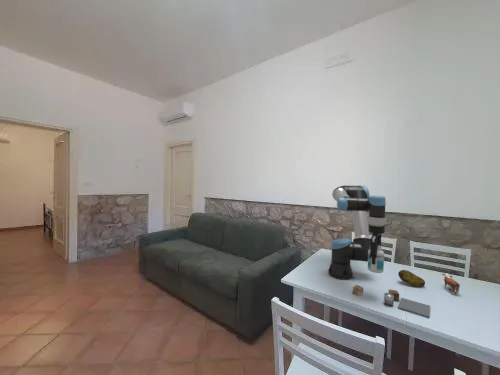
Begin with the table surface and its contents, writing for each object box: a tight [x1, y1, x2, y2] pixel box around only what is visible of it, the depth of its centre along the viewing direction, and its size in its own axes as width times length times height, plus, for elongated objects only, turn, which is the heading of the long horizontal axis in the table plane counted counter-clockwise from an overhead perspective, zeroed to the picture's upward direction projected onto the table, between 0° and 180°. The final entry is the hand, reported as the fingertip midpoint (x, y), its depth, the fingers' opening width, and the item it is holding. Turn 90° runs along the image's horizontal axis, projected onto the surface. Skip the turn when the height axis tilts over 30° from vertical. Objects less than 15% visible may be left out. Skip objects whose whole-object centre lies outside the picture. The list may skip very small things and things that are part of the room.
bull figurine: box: [441, 272, 460, 295], centre depth 132 cm, size 4×13×8 cm, turn 161°
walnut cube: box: [388, 289, 400, 302], centre depth 121 cm, size 4×4×4 cm
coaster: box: [397, 297, 431, 319], centre depth 113 cm, size 12×12×1 cm
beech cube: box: [351, 284, 364, 297], centre depth 127 cm, size 4×4×4 cm
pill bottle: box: [367, 245, 385, 274], centre depth 123 cm, size 8×7×14 cm
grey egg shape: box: [383, 292, 395, 308], centre depth 116 cm, size 4×4×5 cm
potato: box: [397, 269, 426, 288], centre depth 139 cm, size 8×13×8 cm, turn 43°
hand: (375, 267), depth 123 cm, fingers closed on pill bottle, 7 cm apart
